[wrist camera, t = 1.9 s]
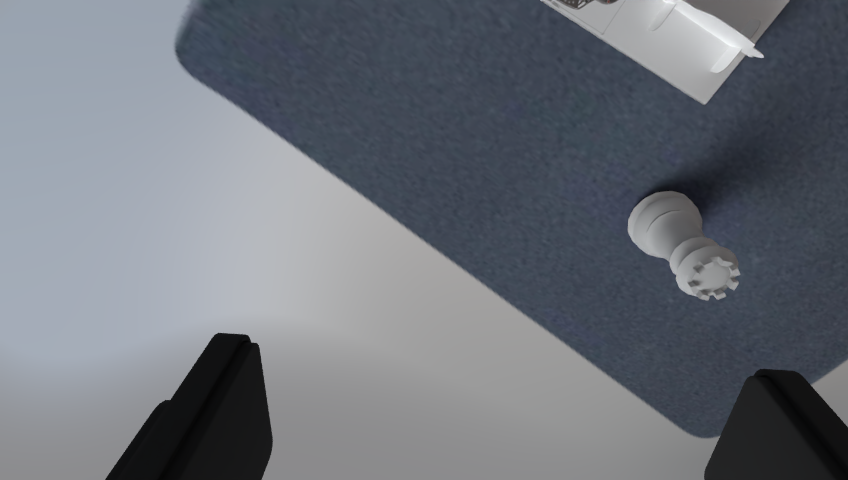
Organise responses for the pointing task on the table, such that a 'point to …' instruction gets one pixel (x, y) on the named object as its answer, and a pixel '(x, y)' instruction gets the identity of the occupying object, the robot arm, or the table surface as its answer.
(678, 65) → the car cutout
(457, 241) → the table surface
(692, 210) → the rook chess piece
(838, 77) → the table surface
